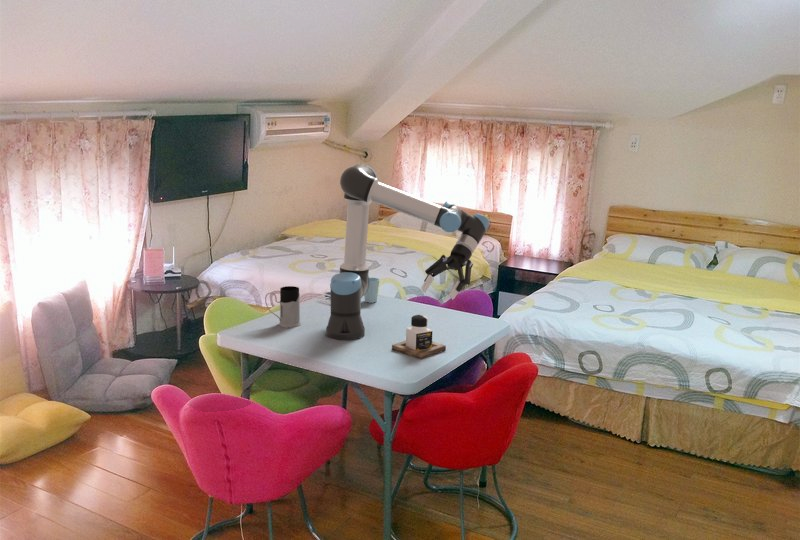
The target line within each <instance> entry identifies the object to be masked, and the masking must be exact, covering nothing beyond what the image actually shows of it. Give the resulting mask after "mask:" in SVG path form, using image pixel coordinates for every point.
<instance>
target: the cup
mask: <svg viewBox="0 0 800 540" xmlns="http://www.w3.org/2000/svg"><path fill="white" fill-rule="evenodd" d="M369 279H370V285H369V289H368V291H367V292H366V294H365V295H364V296H363V298H364V302H365V303H367V302H369V303H370V304H372V303H373V304H374V302H375V303H377V301H378V296H379V295H378V294H379V286H380V278H377V277H369ZM369 303H368V304H369Z"/></svg>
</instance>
